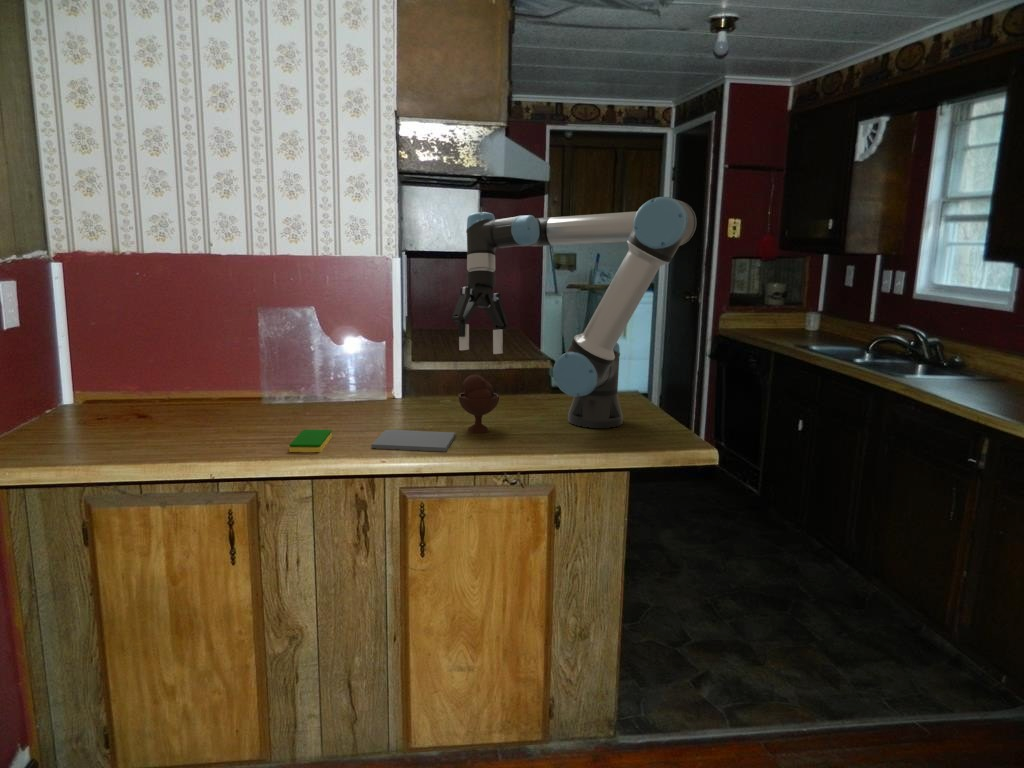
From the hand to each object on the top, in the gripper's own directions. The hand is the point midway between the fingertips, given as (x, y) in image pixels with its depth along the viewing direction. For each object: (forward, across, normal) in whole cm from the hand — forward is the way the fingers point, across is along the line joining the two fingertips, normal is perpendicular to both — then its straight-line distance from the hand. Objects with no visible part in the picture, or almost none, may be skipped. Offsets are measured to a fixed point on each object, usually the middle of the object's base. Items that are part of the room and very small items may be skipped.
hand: (481, 352), depth 196 cm
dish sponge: (+24, +37, -22) cm, 50 cm away
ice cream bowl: (+21, 0, -2) cm, 21 cm away
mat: (+23, +19, -6) cm, 30 cm away
